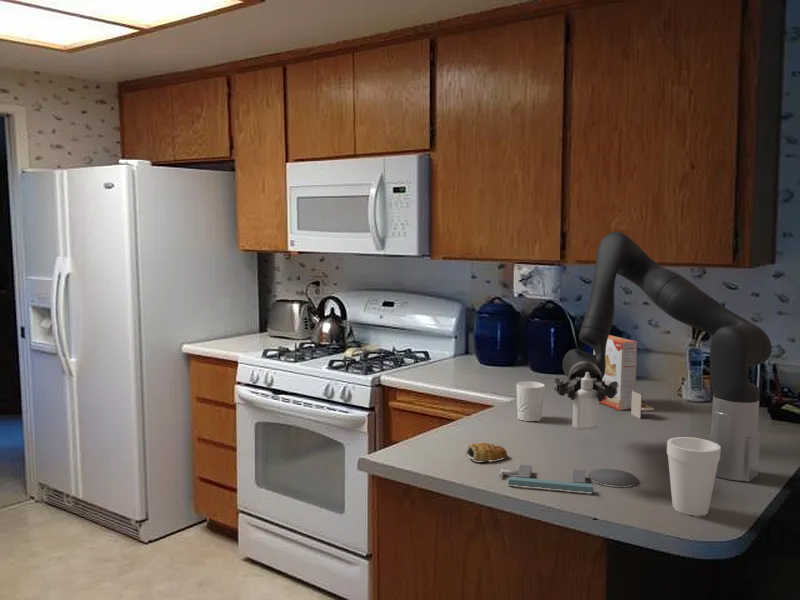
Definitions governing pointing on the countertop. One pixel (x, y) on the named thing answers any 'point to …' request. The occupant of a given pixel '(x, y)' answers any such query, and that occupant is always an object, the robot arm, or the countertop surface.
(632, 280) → the robot arm
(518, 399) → the white cup
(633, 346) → the cracker box
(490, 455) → the pastry
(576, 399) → the eye dropper bottle
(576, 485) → the vise
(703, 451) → the foam cup
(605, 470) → the mat
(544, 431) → the countertop surface
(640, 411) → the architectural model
